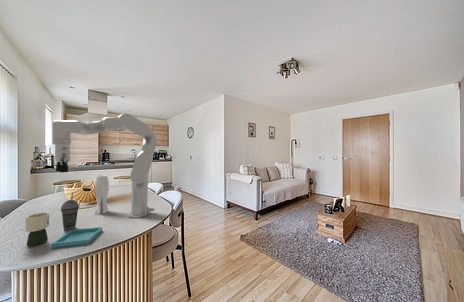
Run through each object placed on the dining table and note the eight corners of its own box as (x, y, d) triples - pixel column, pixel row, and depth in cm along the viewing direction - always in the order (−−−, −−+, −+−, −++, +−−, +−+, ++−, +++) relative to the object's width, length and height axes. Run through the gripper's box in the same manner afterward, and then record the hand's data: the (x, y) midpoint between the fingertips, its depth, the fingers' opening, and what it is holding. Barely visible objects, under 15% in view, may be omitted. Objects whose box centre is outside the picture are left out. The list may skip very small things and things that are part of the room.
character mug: (53, 242, 79) (54, 214, 79) (30, 250, 72) (30, 219, 72) (43, 237, 83) (44, 210, 83) (21, 244, 77) (21, 215, 77)
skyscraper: (90, 214, 114) (91, 172, 115) (101, 210, 122) (101, 171, 123) (101, 215, 113) (102, 173, 114) (111, 211, 121) (112, 171, 122)
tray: (102, 230, 91) (102, 226, 91) (88, 244, 78) (89, 239, 78) (70, 234, 87) (71, 230, 87) (51, 248, 74) (51, 243, 74)
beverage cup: (68, 226, 96) (68, 190, 96) (82, 225, 96) (82, 190, 97) (56, 232, 88) (56, 193, 89) (71, 231, 89) (71, 193, 89)
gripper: (74, 141, 97) (74, 172, 97) (66, 142, 107) (66, 170, 107) (56, 141, 91) (56, 173, 91) (49, 142, 101) (49, 171, 100)
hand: (61, 171), depth 99 cm, fingers open, 9 cm apart
